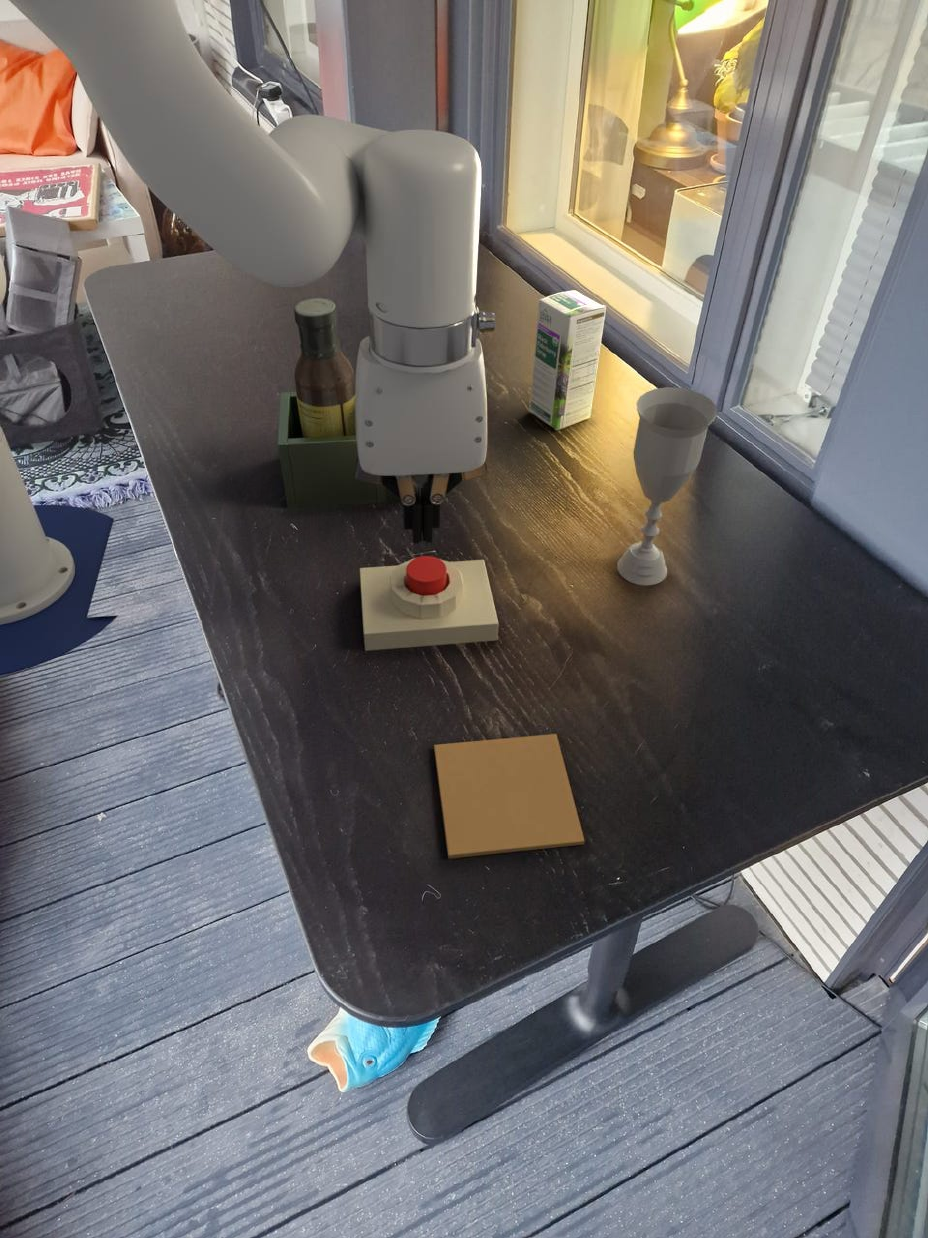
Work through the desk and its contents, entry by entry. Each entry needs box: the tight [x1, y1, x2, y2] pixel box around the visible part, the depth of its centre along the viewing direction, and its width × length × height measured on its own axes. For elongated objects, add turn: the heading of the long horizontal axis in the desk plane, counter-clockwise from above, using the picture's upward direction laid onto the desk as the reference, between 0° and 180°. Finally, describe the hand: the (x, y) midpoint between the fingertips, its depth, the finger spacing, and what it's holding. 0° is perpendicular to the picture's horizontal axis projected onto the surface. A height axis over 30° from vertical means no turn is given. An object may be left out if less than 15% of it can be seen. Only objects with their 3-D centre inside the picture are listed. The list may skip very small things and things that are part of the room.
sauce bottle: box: [293, 297, 356, 438], centre depth 89 cm, size 6×6×20 cm
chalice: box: [616, 386, 718, 586], centre depth 79 cm, size 7×7×18 cm
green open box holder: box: [277, 391, 414, 509], centre depth 91 cm, size 14×11×12 cm
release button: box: [406, 555, 446, 596], centre depth 77 cm, size 4×4×2 cm
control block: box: [359, 557, 499, 651], centre depth 78 cm, size 12×9×4 cm
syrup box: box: [528, 289, 607, 431], centre depth 101 cm, size 6×6×14 cm
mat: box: [433, 733, 585, 859], centre depth 65 cm, size 10×10×1 cm
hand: (421, 532), depth 73 cm, fingers closed
